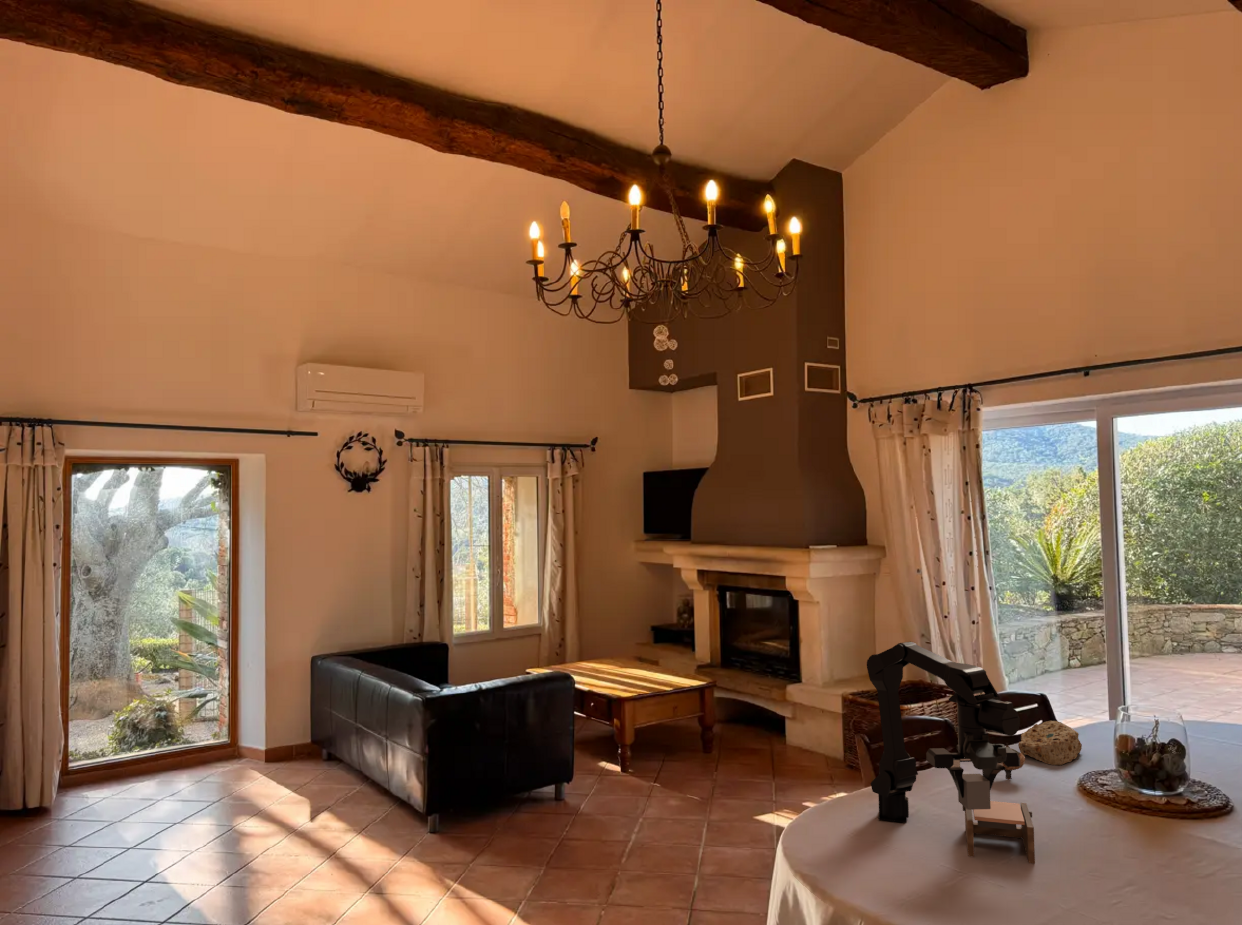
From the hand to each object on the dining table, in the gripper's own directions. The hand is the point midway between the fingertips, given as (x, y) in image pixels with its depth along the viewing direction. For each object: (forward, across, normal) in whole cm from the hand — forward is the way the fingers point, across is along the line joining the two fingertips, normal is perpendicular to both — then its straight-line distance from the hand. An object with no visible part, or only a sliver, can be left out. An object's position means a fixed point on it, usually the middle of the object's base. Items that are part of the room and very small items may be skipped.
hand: (974, 796), depth 190 cm
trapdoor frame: (+12, +6, +3) cm, 14 cm away
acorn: (+12, +28, +46) cm, 56 cm away
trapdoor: (+9, +6, +3) cm, 12 cm away
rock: (+12, +50, +67) cm, 85 cm away
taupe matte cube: (+2, 0, 0) cm, 2 cm away
